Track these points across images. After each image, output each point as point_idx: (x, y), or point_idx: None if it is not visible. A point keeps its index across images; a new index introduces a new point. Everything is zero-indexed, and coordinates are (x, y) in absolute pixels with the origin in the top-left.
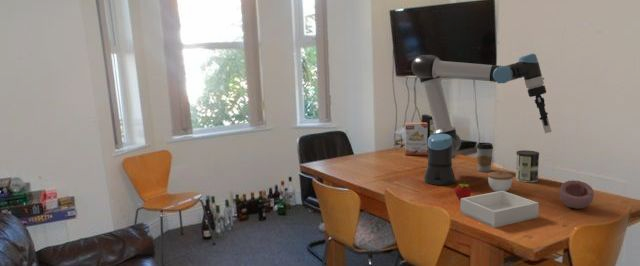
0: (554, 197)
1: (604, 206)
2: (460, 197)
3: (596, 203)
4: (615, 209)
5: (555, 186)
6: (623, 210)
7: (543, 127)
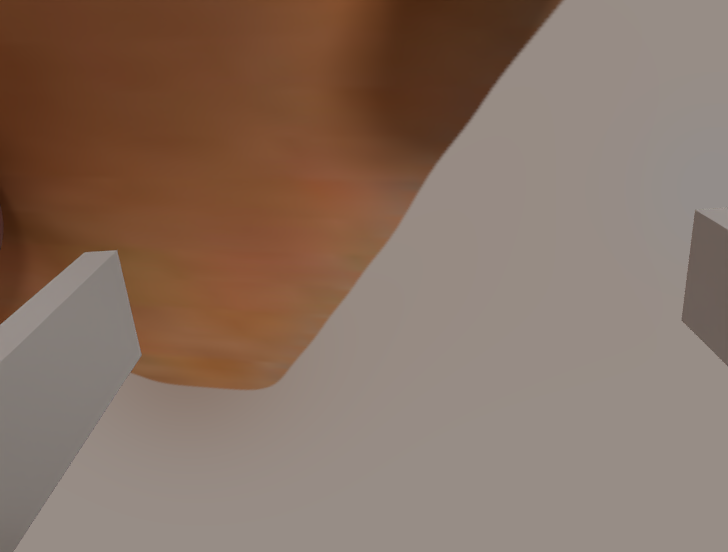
0: (79, 60)
1: None
2: None
3: None
4: None
5: (385, 59)
6: None
7: (24, 304)
